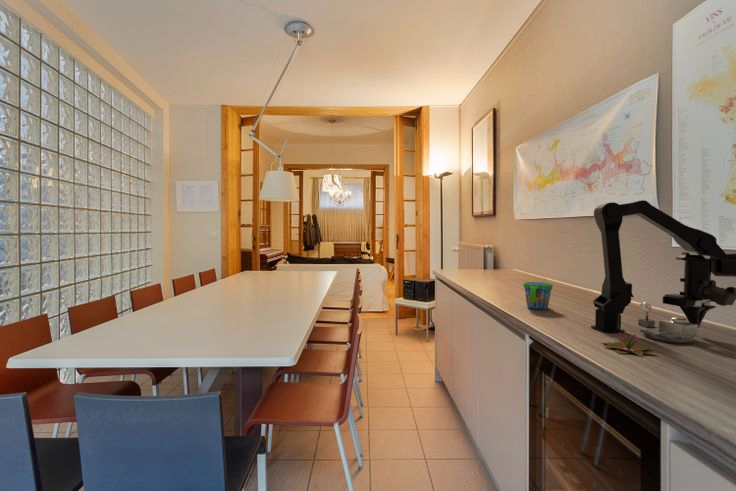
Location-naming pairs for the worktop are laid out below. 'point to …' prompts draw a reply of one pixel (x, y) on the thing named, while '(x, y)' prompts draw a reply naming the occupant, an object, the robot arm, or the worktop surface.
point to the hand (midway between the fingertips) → (695, 328)
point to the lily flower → (629, 346)
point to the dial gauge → (646, 315)
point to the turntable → (667, 336)
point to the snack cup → (537, 294)
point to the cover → (678, 326)
